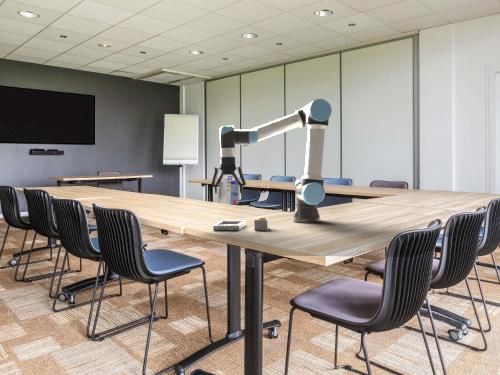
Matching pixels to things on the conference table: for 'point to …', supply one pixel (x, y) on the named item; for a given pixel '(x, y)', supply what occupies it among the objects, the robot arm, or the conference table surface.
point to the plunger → (261, 218)
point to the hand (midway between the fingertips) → (229, 199)
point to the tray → (229, 225)
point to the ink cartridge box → (229, 191)
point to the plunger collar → (261, 224)
